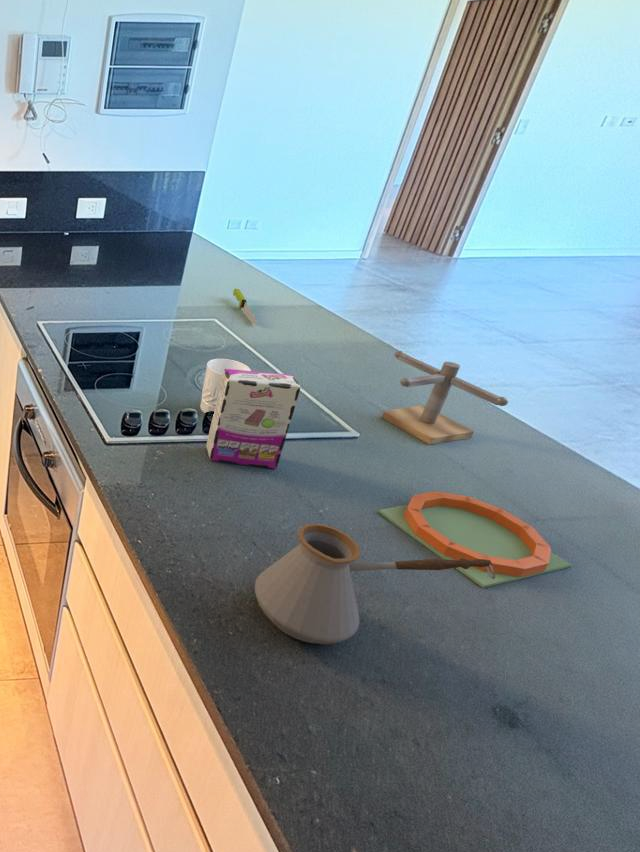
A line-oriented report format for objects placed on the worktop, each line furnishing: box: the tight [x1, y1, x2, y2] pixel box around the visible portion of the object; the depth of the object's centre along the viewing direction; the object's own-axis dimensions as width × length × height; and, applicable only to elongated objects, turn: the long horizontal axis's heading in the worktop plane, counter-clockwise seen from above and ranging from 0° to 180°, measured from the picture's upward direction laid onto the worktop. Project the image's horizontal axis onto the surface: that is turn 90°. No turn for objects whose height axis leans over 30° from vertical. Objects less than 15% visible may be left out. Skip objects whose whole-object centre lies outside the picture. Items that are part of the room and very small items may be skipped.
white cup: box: [199, 358, 252, 414], centre depth 123 cm, size 8×8×10 cm
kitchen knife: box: [232, 288, 259, 325], centre depth 173 cm, size 22×1×3 cm, turn 170°
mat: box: [377, 503, 573, 589], centre depth 92 cm, size 16×16×1 cm
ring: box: [404, 490, 552, 577], centre depth 91 cm, size 16×16×2 cm
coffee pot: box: [254, 523, 495, 645], centre depth 74 cm, size 21×12×15 cm, turn 69°
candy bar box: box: [205, 369, 302, 469], centre depth 107 cm, size 11×5×16 cm, turn 76°
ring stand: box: [381, 350, 509, 446], centre depth 116 cm, size 15×21×14 cm
